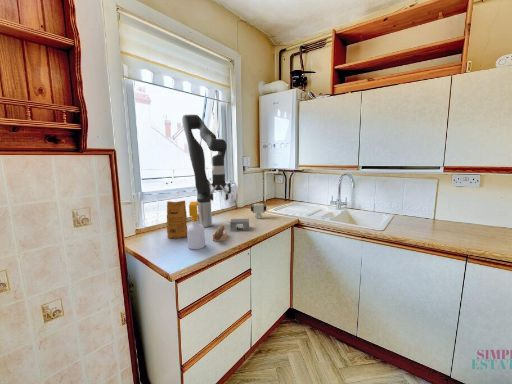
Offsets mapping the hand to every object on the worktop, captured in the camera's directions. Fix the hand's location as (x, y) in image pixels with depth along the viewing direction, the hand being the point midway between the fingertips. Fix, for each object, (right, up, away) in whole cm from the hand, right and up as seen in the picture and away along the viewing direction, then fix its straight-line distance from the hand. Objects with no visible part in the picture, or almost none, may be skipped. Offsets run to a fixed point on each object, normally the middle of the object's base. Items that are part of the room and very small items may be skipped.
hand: (219, 200), depth 140 cm
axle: (+1, -20, -4) cm, 21 cm away
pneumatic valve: (+24, -15, +40) cm, 49 cm away
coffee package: (-26, -22, +4) cm, 35 cm away
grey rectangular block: (+11, -20, +14) cm, 27 cm away
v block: (+1, -23, -3) cm, 23 cm away
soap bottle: (-10, -25, -14) cm, 30 cm away
